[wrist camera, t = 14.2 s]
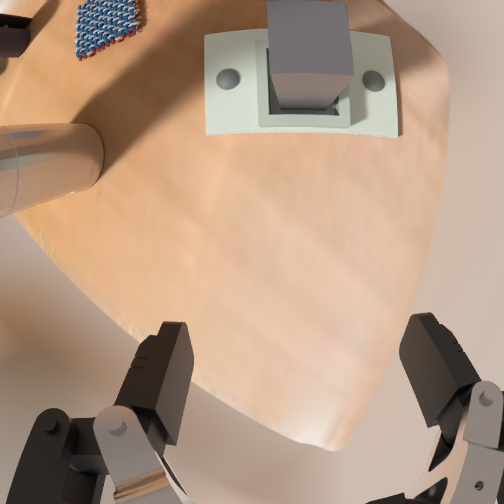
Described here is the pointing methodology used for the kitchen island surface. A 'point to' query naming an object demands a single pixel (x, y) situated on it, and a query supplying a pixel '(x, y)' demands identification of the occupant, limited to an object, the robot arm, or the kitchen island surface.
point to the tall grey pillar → (308, 52)
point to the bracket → (295, 120)
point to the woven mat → (104, 24)
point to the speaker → (13, 35)
